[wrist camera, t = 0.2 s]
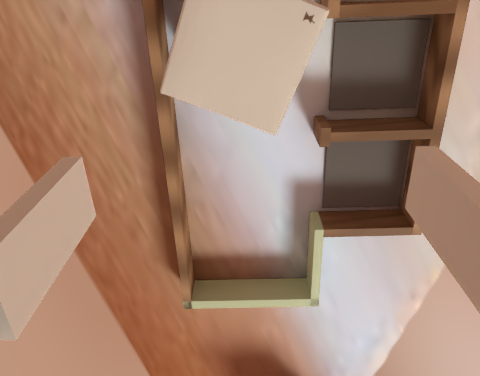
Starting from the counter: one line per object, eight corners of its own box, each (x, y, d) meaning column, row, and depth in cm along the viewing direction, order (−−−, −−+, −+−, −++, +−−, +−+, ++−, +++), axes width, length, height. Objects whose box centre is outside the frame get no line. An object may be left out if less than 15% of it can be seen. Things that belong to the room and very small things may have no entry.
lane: (142, -77, 35) (130, -84, 31) (465, -92, 34) (490, -101, 30) (188, 287, 54) (184, 308, 50) (395, 282, 53) (406, 304, 49)
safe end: (179, 215, 48) (173, 233, 45) (318, 211, 48) (323, 229, 44) (188, 287, 54) (184, 308, 50) (313, 284, 53) (318, 306, 50)
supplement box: (213, -40, 36) (195, -54, 23) (303, -2, 37) (336, 6, 24) (185, 57, 40) (154, 94, 27) (267, 88, 41) (277, 138, 28)
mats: (335, 22, 38) (335, 22, 38) (428, 18, 38) (430, 19, 38) (322, 206, 48) (322, 207, 47) (397, 204, 47) (398, 205, 47)
